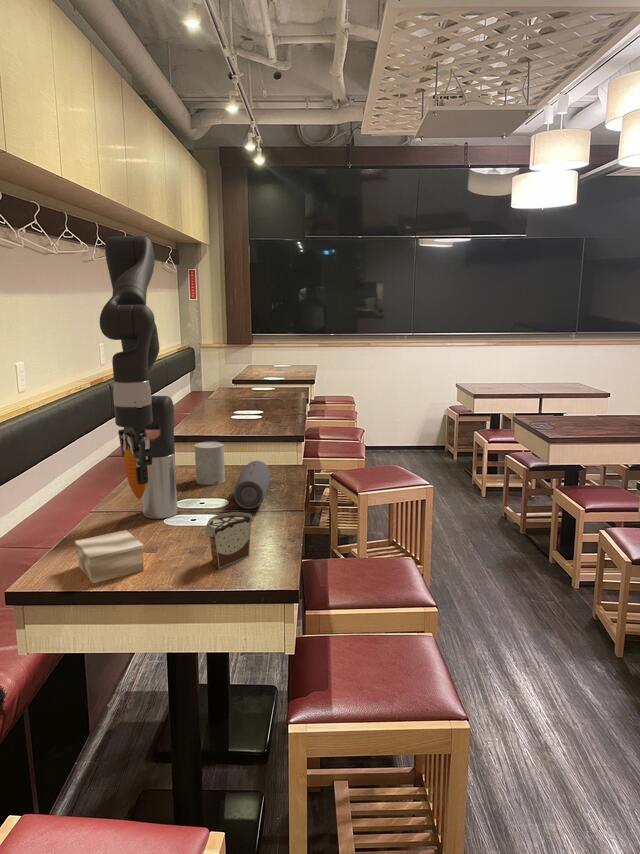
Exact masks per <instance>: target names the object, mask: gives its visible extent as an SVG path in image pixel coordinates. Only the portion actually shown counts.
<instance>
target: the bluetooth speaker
mask: <svg viewBox="0 0 640 854" xmlns="http://www.w3.org/2000/svg"><path fill="white" fill-rule="evenodd" d="M270 480H271V472H270V468H269V466H268V465H267V464H266V463H265V462H264V461H260V460H253V461H250V462H249V463H248V464H246V465H245V466H244V468H242V470H241V473H240V474H239V476H238V478H237V481H236V483H235V486H234V489H233V490H234V491H233V498H234V501H235V502H236V504H237V505H238V506H239V507H241V508H242V509H246V510H247V509H250V510H251V509H255V508H257V507H259V506H260V504H261V503H262V502H263V501H264V499H265V497H266V495H267V494H268V490H269V487H270Z"/></svg>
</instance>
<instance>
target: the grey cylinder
mask: <svg viewBox="0 0 640 854" xmlns="http://www.w3.org/2000/svg"><path fill="white" fill-rule="evenodd" d="M194 458H195V459H194V460H195V483H197V484H198V485H203V486H213V485H219V484H223V483H225V482H226V474H225V472H226V471H225V443H223V442H220V441H201V442H197V443H196V444H194Z"/></svg>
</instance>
